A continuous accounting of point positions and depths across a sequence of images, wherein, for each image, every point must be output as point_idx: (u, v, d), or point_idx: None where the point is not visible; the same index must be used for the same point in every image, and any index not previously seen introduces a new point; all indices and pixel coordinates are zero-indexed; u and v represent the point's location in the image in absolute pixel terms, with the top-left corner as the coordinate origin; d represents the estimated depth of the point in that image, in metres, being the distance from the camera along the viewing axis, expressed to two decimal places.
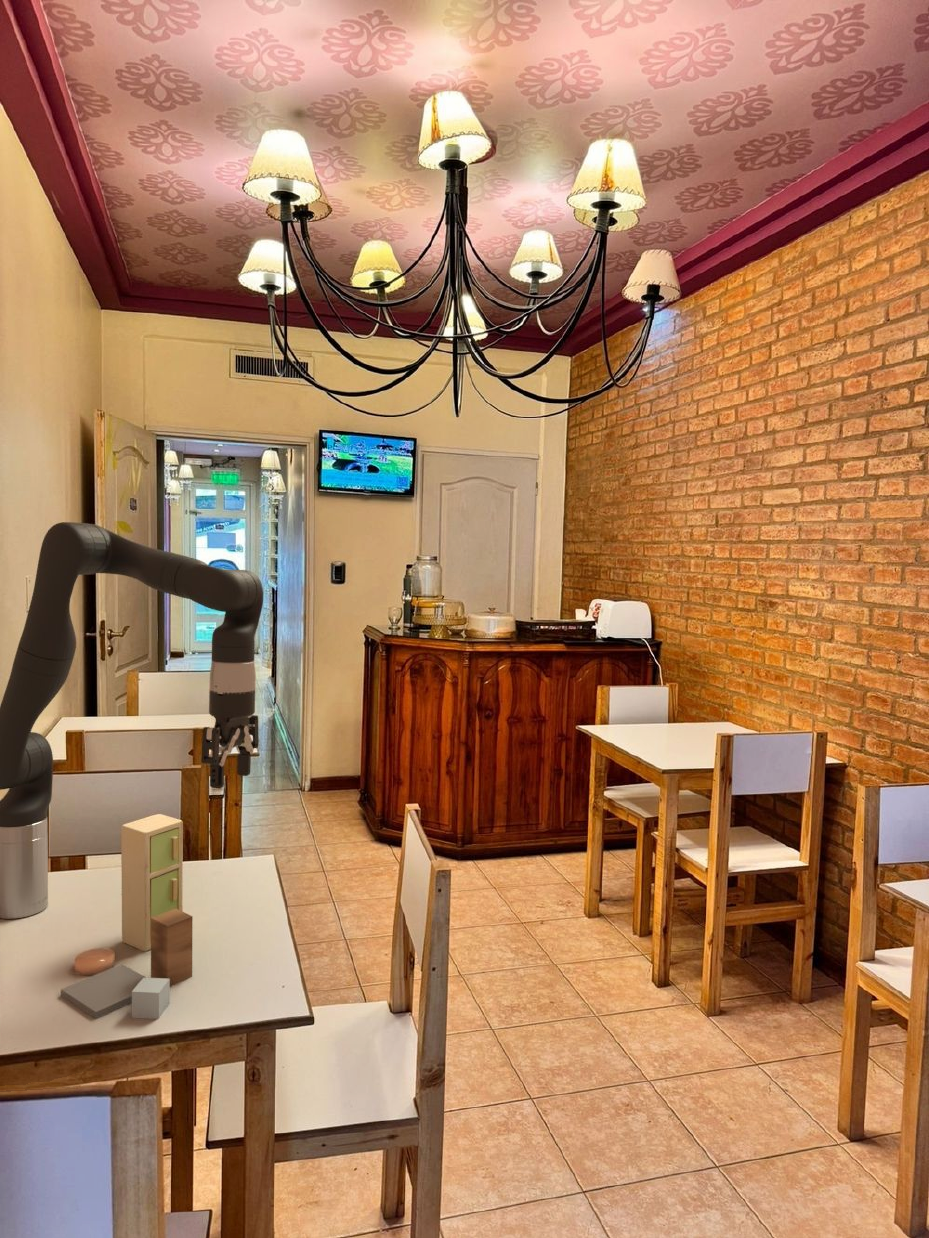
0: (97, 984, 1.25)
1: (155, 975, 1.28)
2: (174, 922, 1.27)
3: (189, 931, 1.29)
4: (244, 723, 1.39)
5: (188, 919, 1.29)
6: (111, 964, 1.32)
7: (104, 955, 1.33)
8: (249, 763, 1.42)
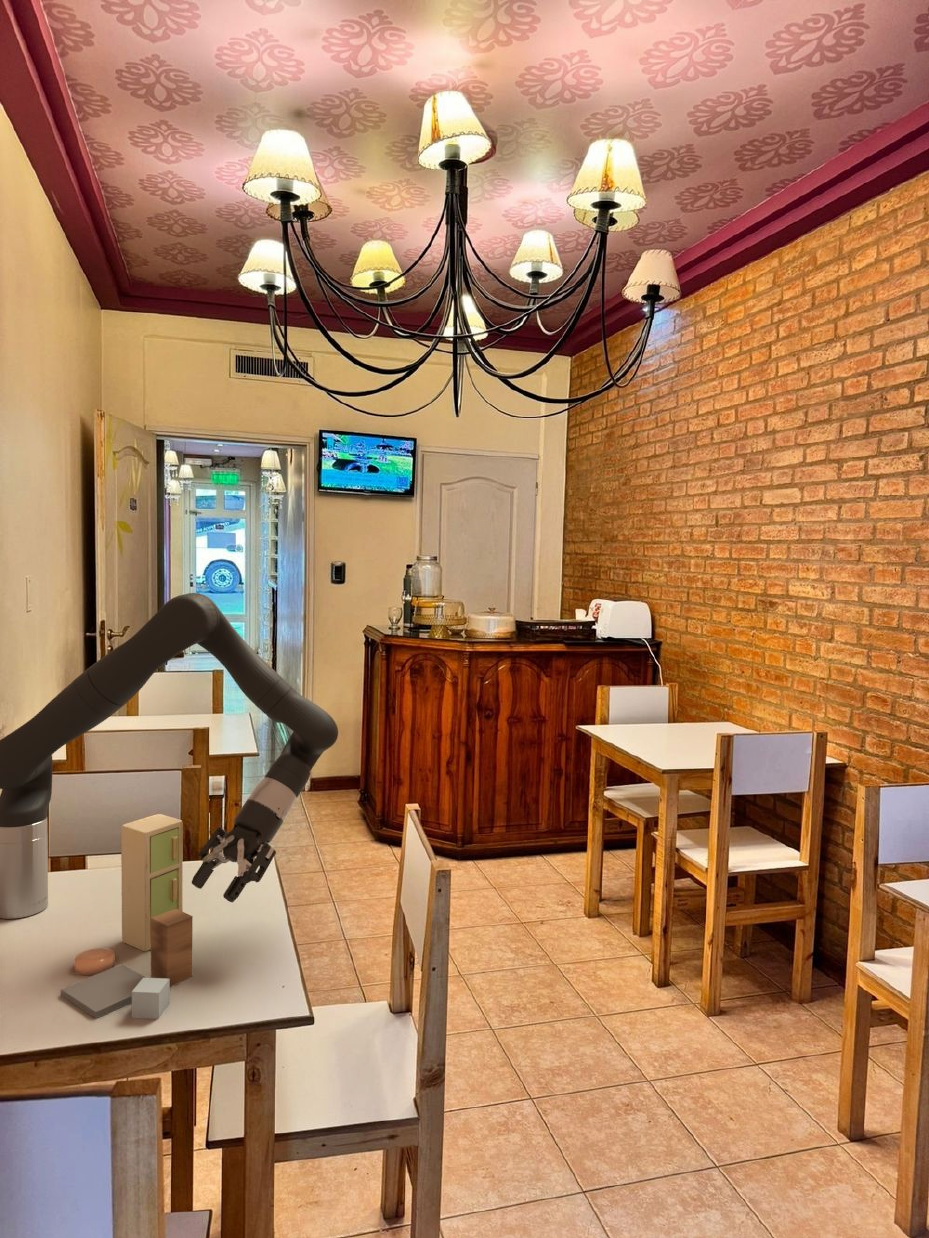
0: (97, 984, 1.25)
1: (155, 975, 1.28)
2: (174, 922, 1.27)
3: (189, 931, 1.29)
4: None
5: (188, 919, 1.29)
6: (111, 964, 1.32)
7: (104, 955, 1.33)
8: (207, 877, 1.39)
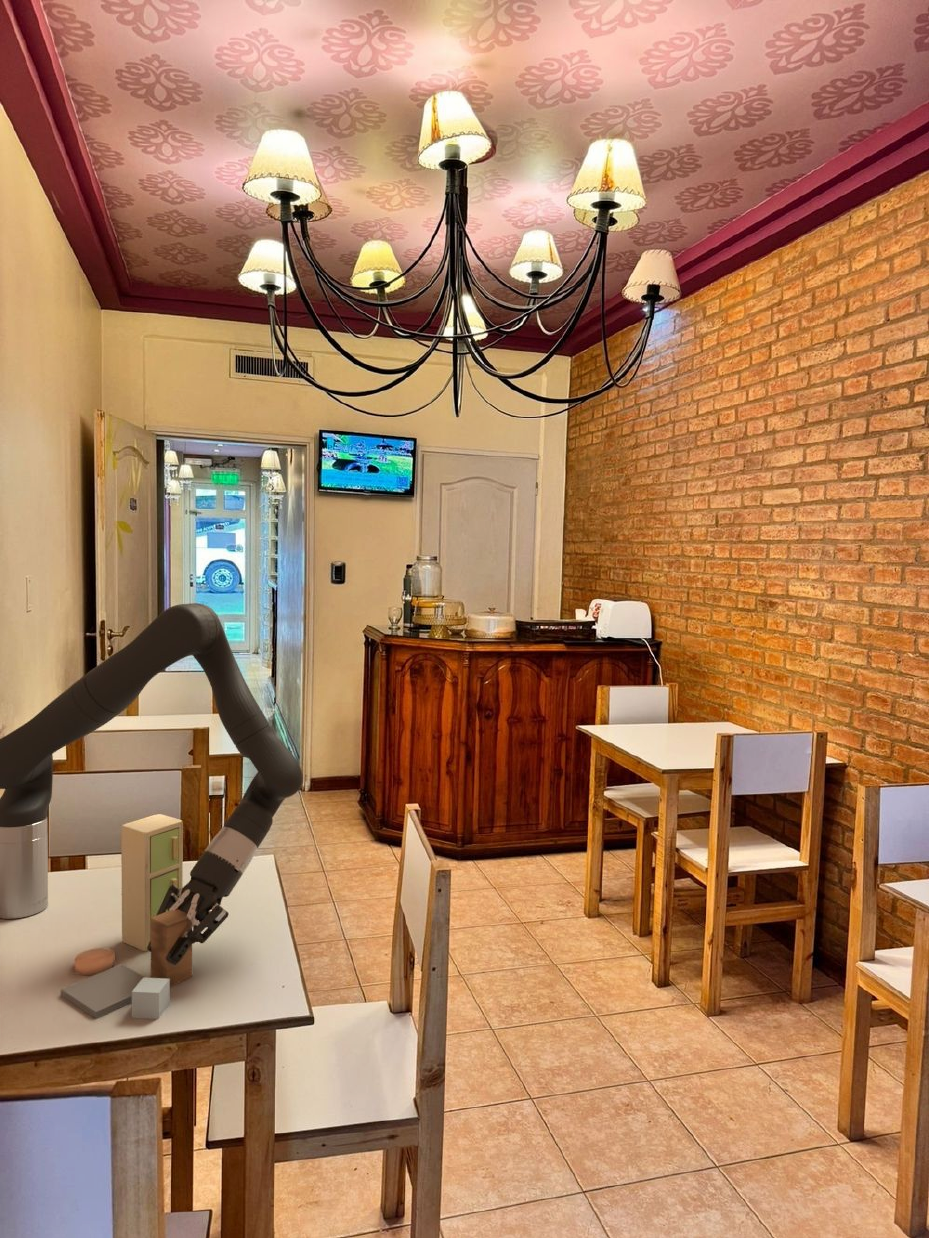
0: (97, 984, 1.25)
1: (155, 975, 1.28)
2: (174, 921, 1.27)
3: None
4: None
5: None
6: (111, 964, 1.32)
7: (104, 955, 1.33)
8: None
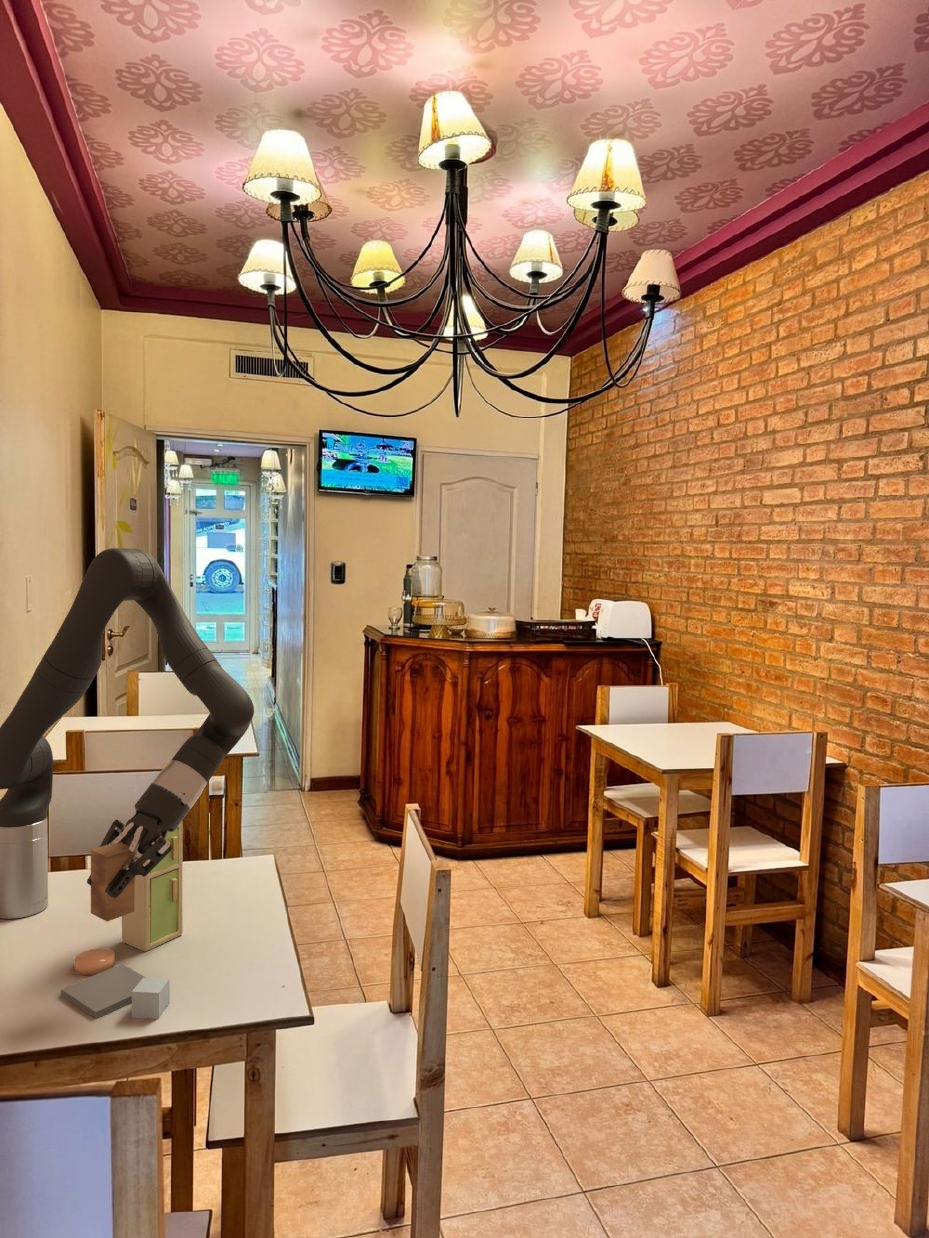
0: (97, 984, 1.25)
1: (95, 909, 1.23)
2: (115, 853, 1.21)
3: None
4: None
5: None
6: (111, 964, 1.32)
7: (104, 955, 1.33)
8: None
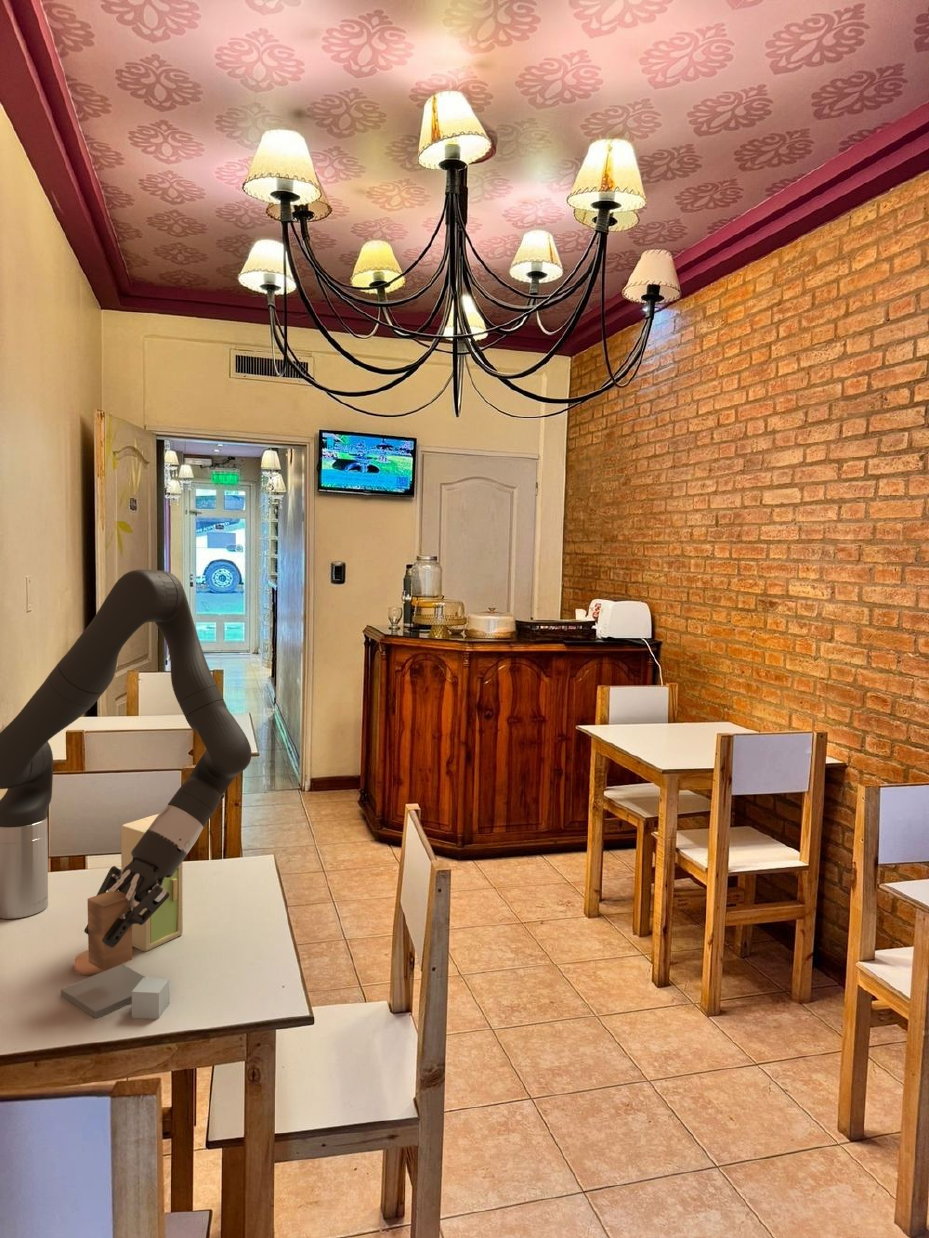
0: (97, 984, 1.25)
1: (92, 958, 1.23)
2: (111, 902, 1.21)
3: None
4: None
5: None
6: None
7: None
8: None
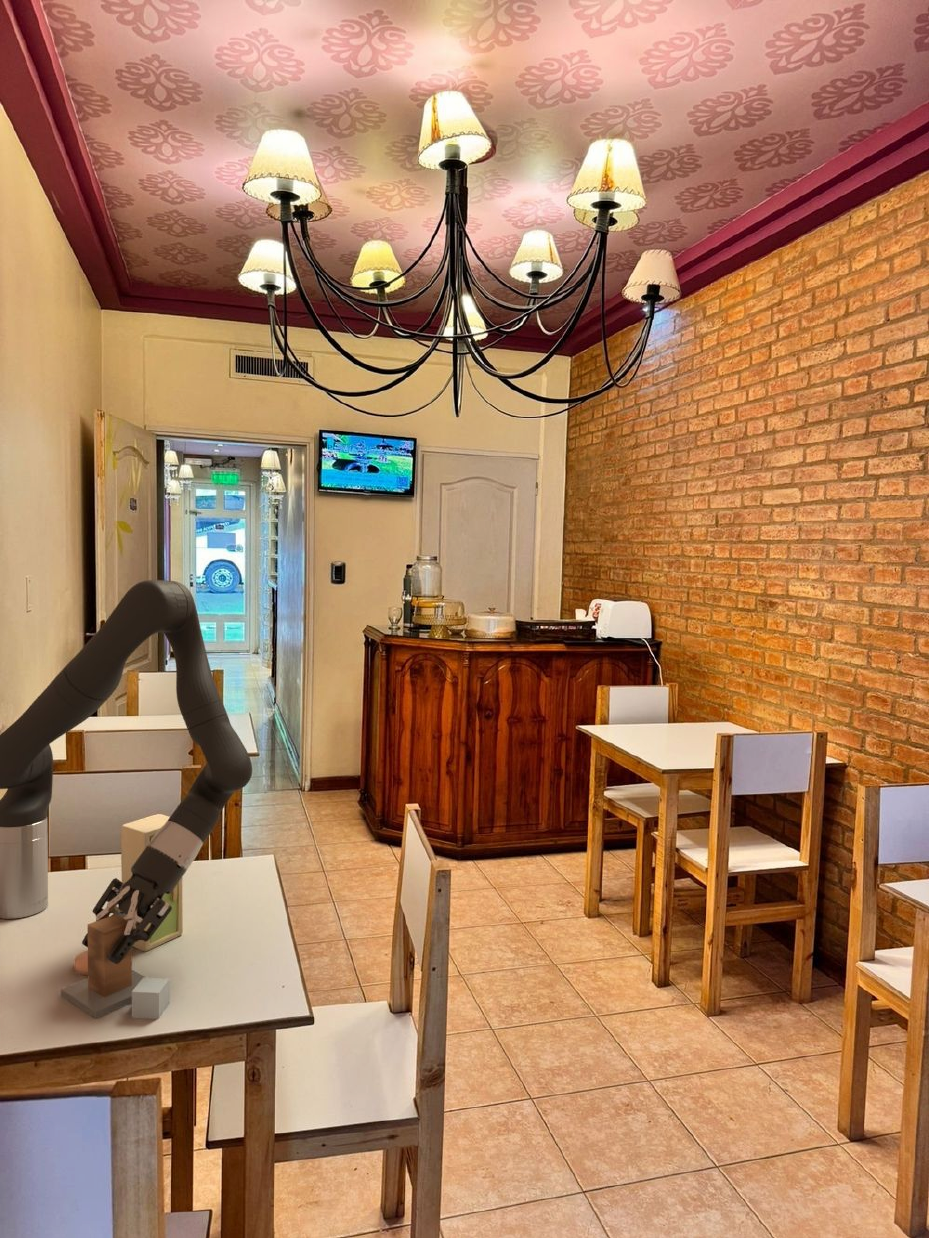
0: None
1: (92, 984, 1.23)
2: (111, 928, 1.22)
3: None
4: None
5: None
6: None
7: None
8: None
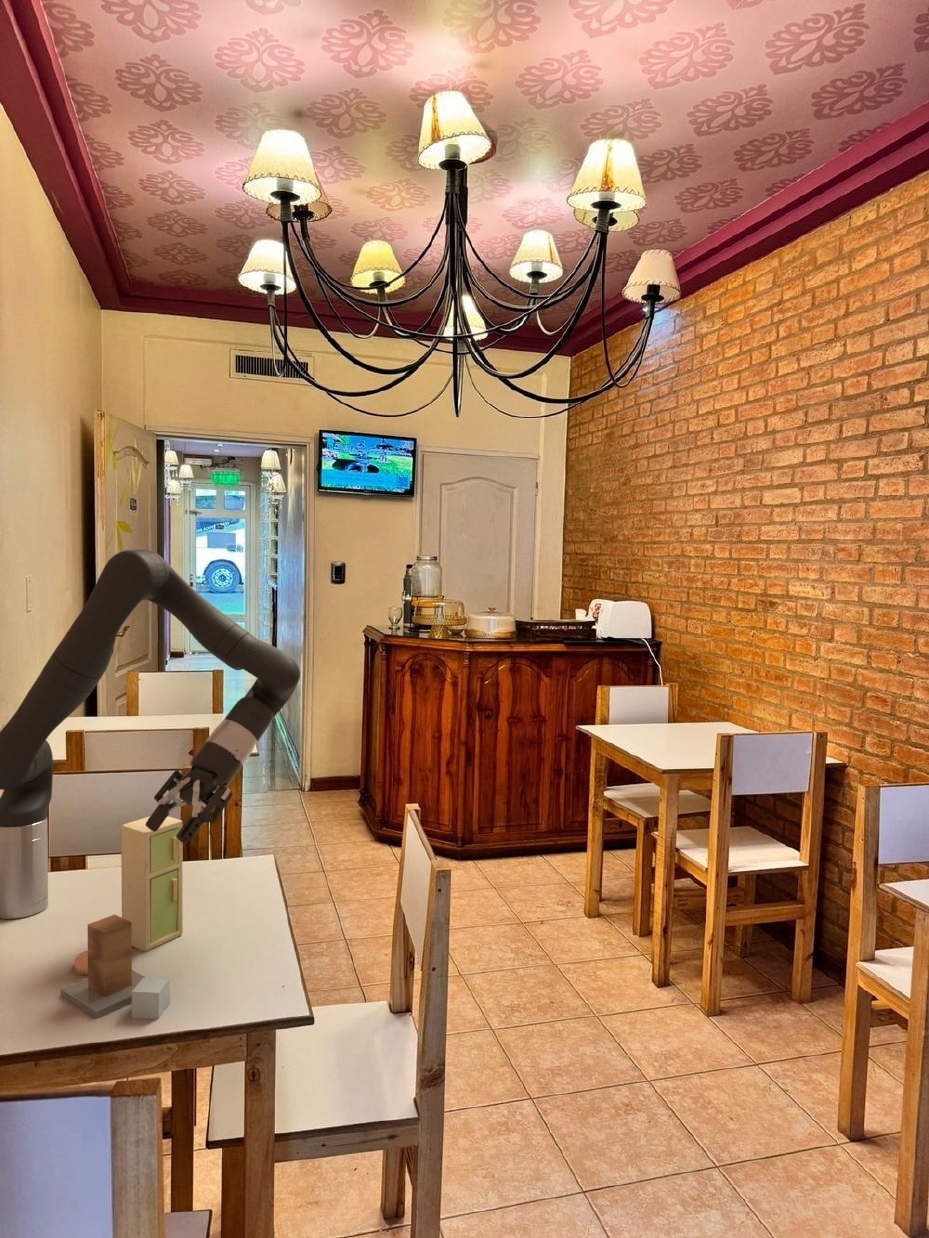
0: None
1: (92, 984, 1.23)
2: (111, 928, 1.22)
3: (128, 938, 1.24)
4: None
5: (127, 925, 1.24)
6: None
7: None
8: (162, 820, 1.35)
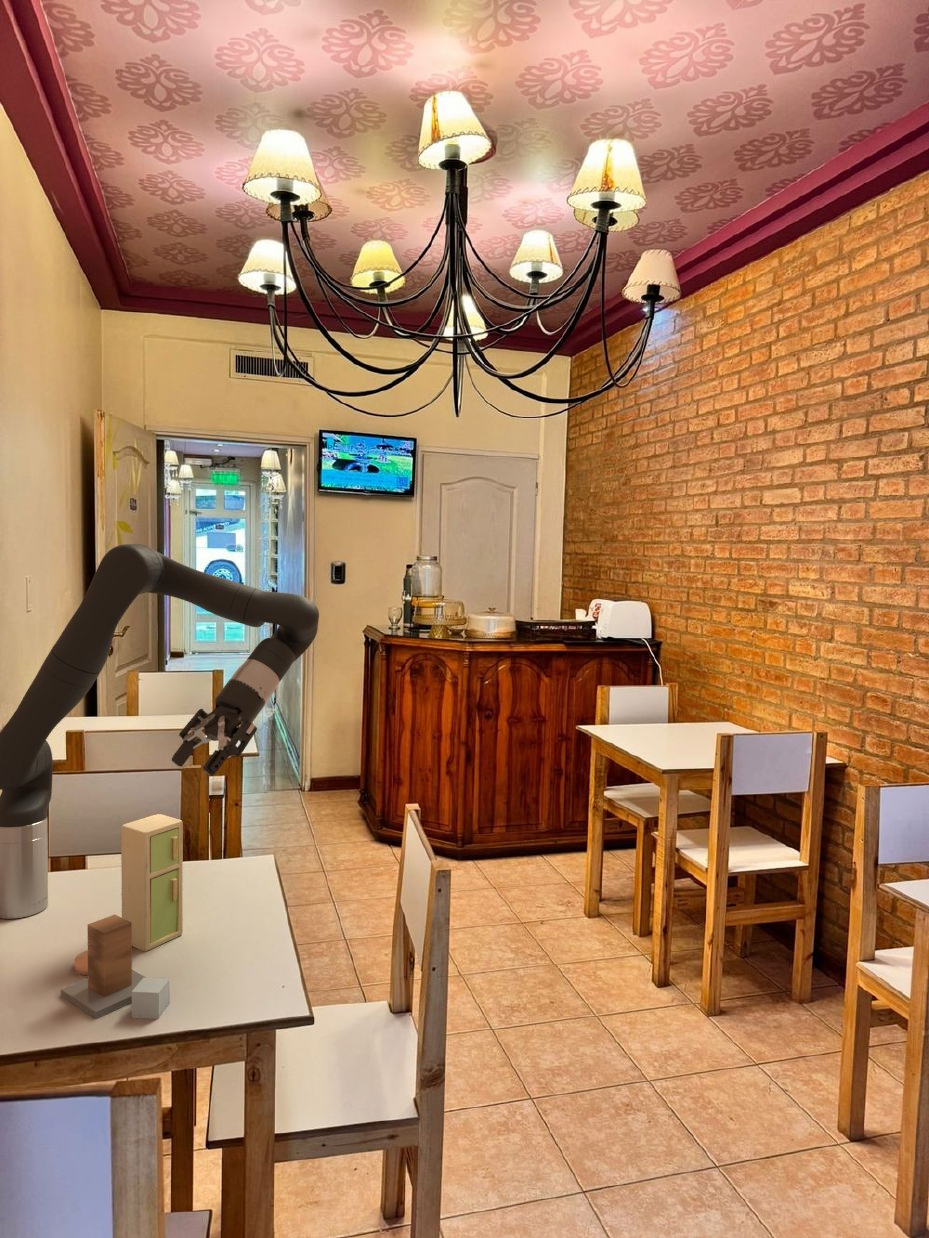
0: None
1: (92, 984, 1.23)
2: (111, 928, 1.22)
3: (128, 938, 1.24)
4: None
5: (127, 925, 1.24)
6: None
7: None
8: (188, 756, 1.37)
